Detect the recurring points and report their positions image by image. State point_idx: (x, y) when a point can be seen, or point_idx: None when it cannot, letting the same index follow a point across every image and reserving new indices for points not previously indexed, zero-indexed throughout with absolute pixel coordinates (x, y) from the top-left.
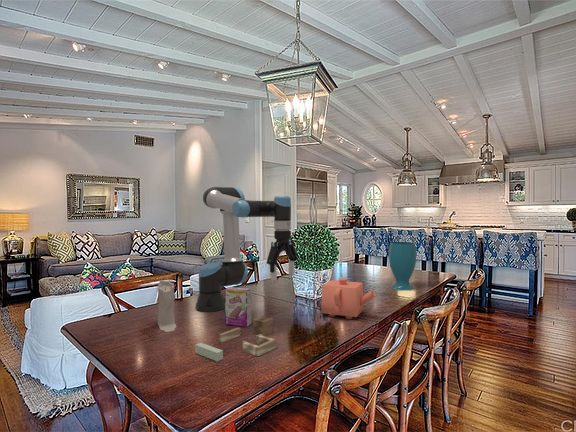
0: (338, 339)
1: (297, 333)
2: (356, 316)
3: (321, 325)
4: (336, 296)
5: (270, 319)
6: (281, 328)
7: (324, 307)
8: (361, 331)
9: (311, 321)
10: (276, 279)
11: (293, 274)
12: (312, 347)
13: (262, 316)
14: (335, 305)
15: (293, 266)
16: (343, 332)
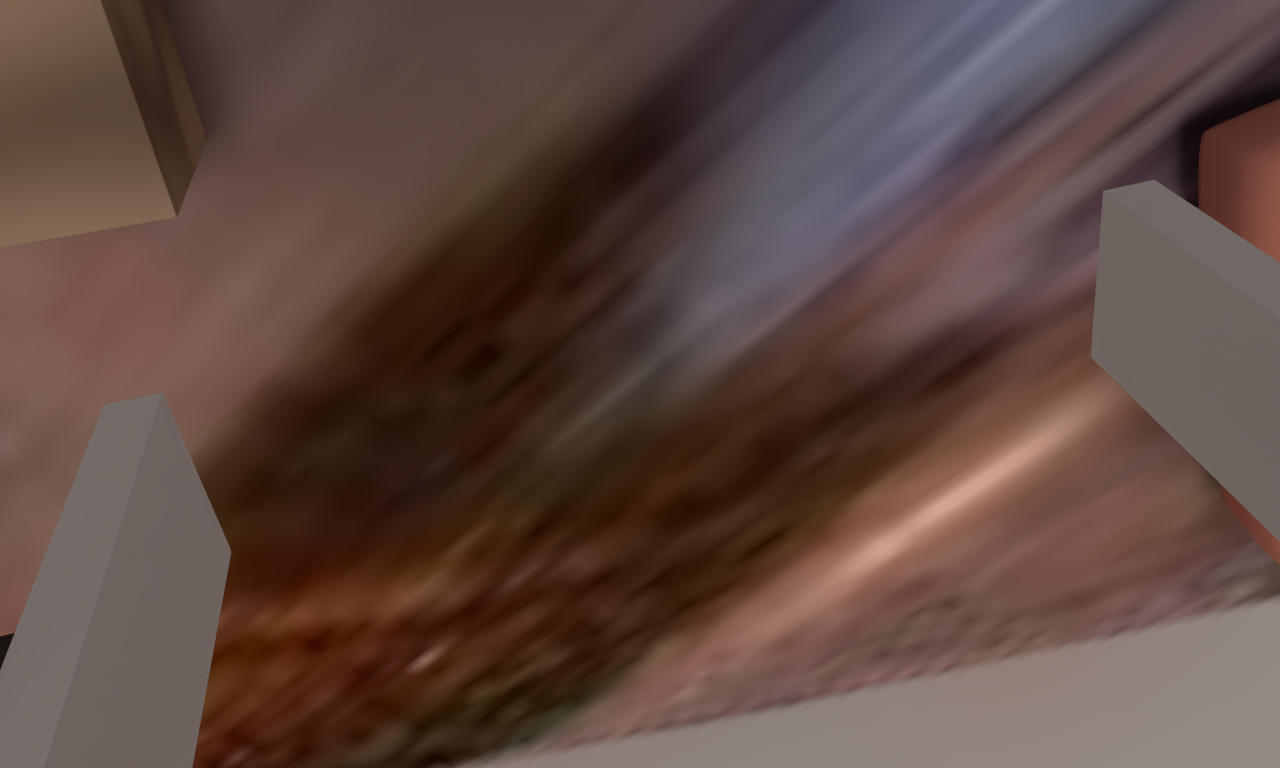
0: (622, 684)
1: (438, 362)
2: (1231, 508)
3: (851, 350)
4: (1277, 545)
5: (108, 224)
6: (402, 99)
7: (1243, 208)
8: (935, 670)
9: (904, 171)
10: (228, 559)
11: (1112, 366)
12: (288, 686)
13: (71, 3)
14: None
15: (1270, 523)
16: (809, 606)
